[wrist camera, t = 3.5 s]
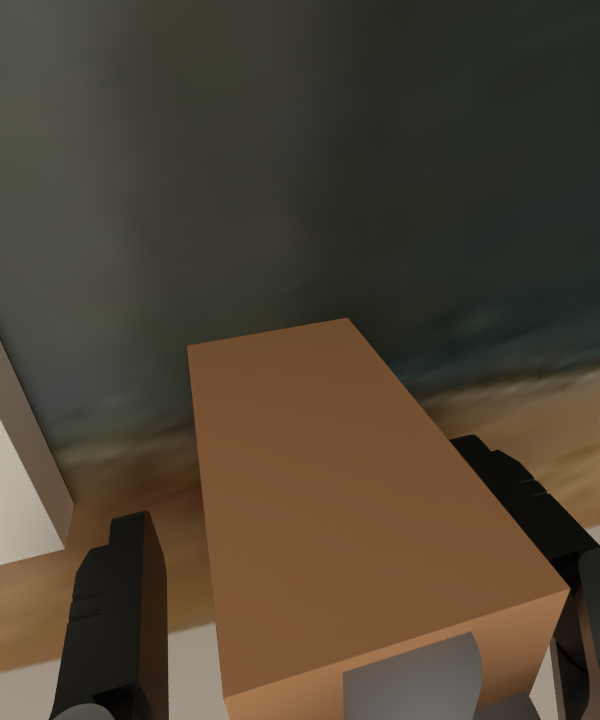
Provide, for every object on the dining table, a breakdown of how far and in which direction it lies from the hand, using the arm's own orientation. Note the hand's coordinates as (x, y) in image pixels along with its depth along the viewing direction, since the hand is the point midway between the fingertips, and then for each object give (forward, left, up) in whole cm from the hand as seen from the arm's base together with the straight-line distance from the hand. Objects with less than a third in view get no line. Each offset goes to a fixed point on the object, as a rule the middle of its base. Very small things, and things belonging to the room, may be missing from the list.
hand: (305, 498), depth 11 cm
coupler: (0, 0, -3) cm, 3 cm away
